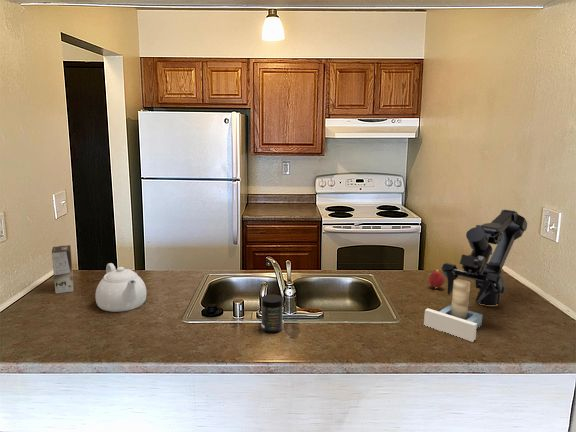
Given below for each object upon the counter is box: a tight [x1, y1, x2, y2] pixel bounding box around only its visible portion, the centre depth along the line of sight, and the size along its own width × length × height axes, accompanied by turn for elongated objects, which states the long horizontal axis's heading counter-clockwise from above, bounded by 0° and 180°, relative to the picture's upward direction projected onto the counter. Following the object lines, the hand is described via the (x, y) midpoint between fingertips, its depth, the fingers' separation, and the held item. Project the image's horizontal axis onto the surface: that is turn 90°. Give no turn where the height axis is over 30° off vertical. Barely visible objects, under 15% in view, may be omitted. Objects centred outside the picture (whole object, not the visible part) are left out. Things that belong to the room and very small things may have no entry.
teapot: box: [95, 262, 147, 313], centre depth 164 cm, size 19×18×14 cm
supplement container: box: [260, 293, 284, 334], centre depth 145 cm, size 7×7×10 cm
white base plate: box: [423, 307, 478, 343], centre depth 150 cm, size 20×16×6 cm
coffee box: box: [51, 244, 74, 294], centre depth 176 cm, size 9×6×16 cm
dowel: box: [450, 278, 471, 320], centre depth 148 cm, size 5×5×14 cm
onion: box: [428, 269, 445, 288], centre depth 183 cm, size 6×6×8 cm
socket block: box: [438, 304, 483, 329], centre depth 149 cm, size 11×11×4 cm
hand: (462, 298), depth 148 cm, fingers open, 9 cm apart
